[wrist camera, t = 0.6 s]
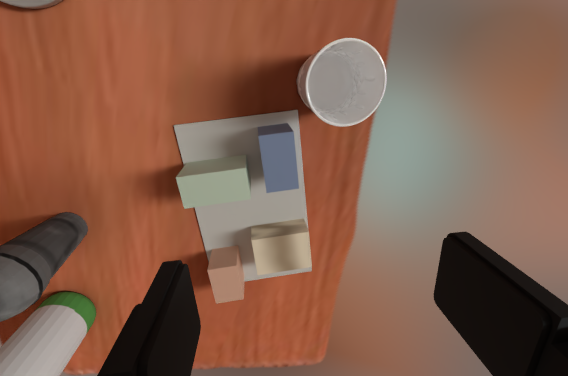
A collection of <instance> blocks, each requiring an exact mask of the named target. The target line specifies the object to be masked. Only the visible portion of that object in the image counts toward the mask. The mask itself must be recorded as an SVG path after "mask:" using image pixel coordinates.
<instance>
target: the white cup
mask: <svg viewBox="0 0 568 376" xmlns="http://www.w3.org/2000/svg"><path fill="white" fill-rule="evenodd" d="M296 81H297V89H298V94H299V95H300V97H301V98H302V100H303V102H304V103H305V105H306V106H307V107H308V108H309V109H310V110H311V111H312V112H313V113H314V114H315V115H316V116H318V117H319V118H320V119H321V120H323V121H324V122H326V123H328V124H330V125H334V126H341V127H344V126H351V125H355V124H357V123H360V122H361V121H363V120H365V119H366V118H368V117H369V116H370V115H371V114H372V113H373V112H374V111H375V110H376V108H377V107H378V105H379V104H380V102H381V100H382V98H383V95H384V92H385V88H386V69H385V65H384V62H383V60H382V58H381V56H380V54H379V53H378V52H377V50H376V49H375V48H374V47H372V46H371V45H370V44H368V43H367V42H365V41H363V40H360V39H355V38H344V39H339V40H336V41H333V42H331V43H329V44H328V45H326V46H325V47H323V48H321V49H320V50H318V51H317V52H315V53H314V54H313V55H312V56H310V57H309V58H308V59H307V60H306V62H305V63H304V64H303V65H302V66H301V67H300V70H299V73H298V77H297V80H296Z"/></svg>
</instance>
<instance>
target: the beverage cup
mask: <svg viewBox="0 0 568 376" xmlns="http://www.w3.org/2000/svg"><path fill="white" fill-rule="evenodd" d="M87 231H88V227H87V224H86V222H85V221H84V220H83V219H82V218H81V217H80V216H78V215H76V214H74V213H69V212H64V213H60V214H58V215H56V216H55V217H52V218H50V219H48V220H46V221H44V222H43V223H41V224H39V225H37V226H35V227H34V228H32V229H30V230H28V231H26V232H25V233H23V234H21V235H19V236H18V237H16V238H14V239H12V240H10V241H9V242H7V243H5V244H3V245H1V246H0V322H1V321H4V320H7V319H9V318H11V317H13V316H15V315H17V314H19V313H21V312H23V311H24V310H26V309H27V308H28V307H29V306H31V305H33V304H34V303H35V302H36V301H37V300H38V299H39V298H40V297H41V295H42V292H43V291H44V290H45V288H46V287H47V285H48V284H49V281H50V279H51V278H52V277H53V275H54V274H55V273H56V272H57V271H58V269H59V268H60V267H61V266H62V264H63V263H64V262H65V261H66V260H67V258H68V257H69V256H70V255H71V253H72V252H73V251H74V250H75V249H76V247H77V246H78V245H79V244H80V242H81V241H82V239H83V238H84V236H85V235H86V234H87Z"/></svg>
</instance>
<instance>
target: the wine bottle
mask: <svg viewBox="0 0 568 376" xmlns="http://www.w3.org/2000/svg"><path fill="white" fill-rule="evenodd" d="M95 317H96V308H95V306H94V304H93V303H92V302H91V300H90V299H88V298H87V297H85V296H84V295H81V294H79V293H75V292H60V293H57V294H54V295H52V296H50V297H49V298H47V299H46V300H45V301H43V302H42V304H41V305H40V306H39V307H38V308H37V309H36V310H35V311H34V312H33V313H32V314H31V315H30V316H29V317H28V318H27V319H26V321H25V322H24V323H23V324H22V325H21V326H20V327H19V328H18V329H17V330H16V331H15V333H14V334H13V335H12V336H11V337H10V338H9V339H8V340H7V341H6V342H5V343H4V344H3V346H2V347H1V348H0V376H60V374H61V373H62V371H63V369H64V368H65V366H66V365H67V363H68V362H69V360H70V359H71V357H72V356H73V354H74V352H75V351H76V349H77V348H78V346H79V345H80V343H81V342H82V340H83V338H84V337H85V335H86V333H87V332H88V330H89V329H90V327H91V326H92V324H93V322H94V320H95Z"/></svg>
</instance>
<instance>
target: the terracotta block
mask: <svg viewBox="0 0 568 376" xmlns="http://www.w3.org/2000/svg"><path fill="white" fill-rule="evenodd" d="M207 271H208V275H209V278H210V282H211V286H212V290H213V294H214V297H215V301H216V304H217V303H223V302H229V301H235V300H241V299H244V277H245V276H244V271H243V266H242V261H241V256H240V251H239V247H238V245H237V246H230V247H223V248H217V249H212V252H211V256H210V261H209V265H208V269H207Z"/></svg>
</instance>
